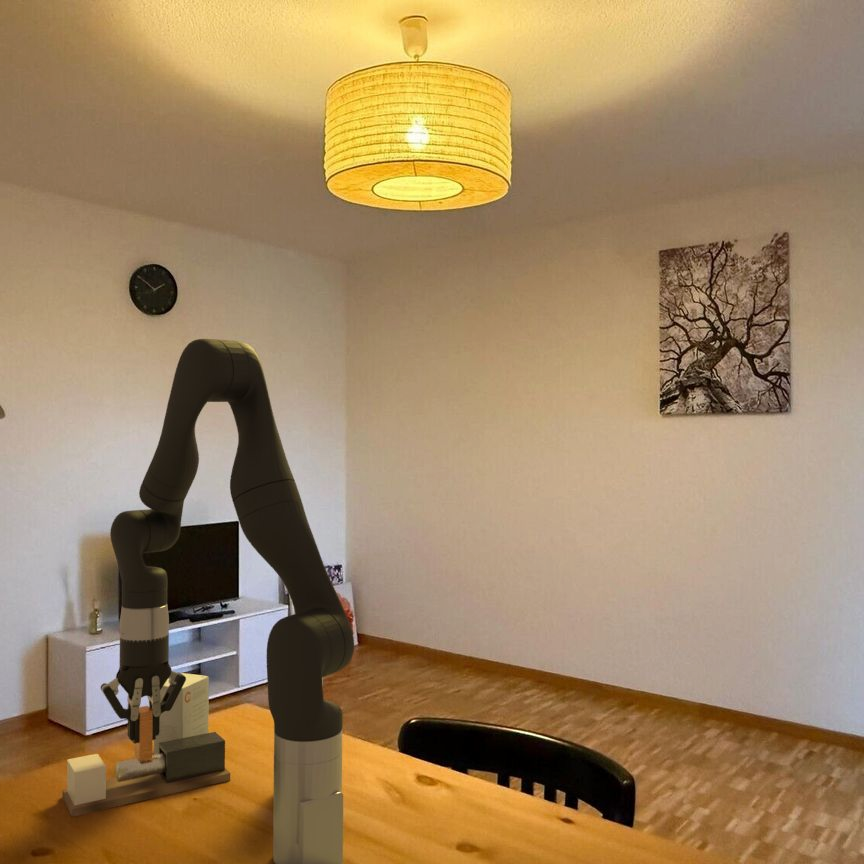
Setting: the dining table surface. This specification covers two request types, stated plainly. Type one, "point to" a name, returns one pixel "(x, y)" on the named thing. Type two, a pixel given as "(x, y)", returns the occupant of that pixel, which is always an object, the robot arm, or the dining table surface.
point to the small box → (185, 711)
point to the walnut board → (141, 791)
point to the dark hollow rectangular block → (193, 756)
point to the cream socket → (86, 779)
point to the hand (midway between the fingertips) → (143, 739)
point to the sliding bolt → (142, 752)
